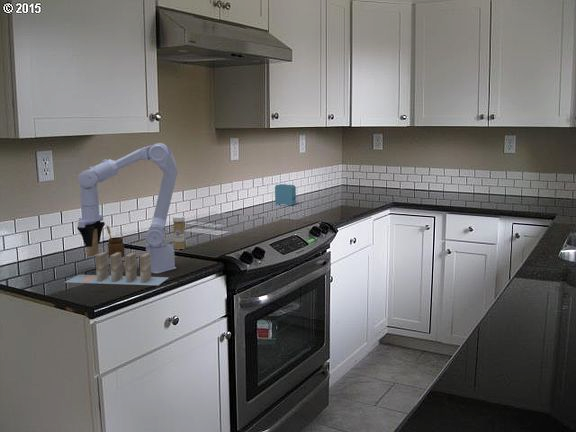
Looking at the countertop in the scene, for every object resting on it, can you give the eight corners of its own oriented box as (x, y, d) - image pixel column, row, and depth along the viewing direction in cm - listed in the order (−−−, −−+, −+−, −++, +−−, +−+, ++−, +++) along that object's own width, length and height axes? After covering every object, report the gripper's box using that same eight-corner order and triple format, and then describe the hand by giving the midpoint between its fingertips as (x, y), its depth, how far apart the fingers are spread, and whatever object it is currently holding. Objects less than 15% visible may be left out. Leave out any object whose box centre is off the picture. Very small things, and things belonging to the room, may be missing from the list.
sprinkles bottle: (173, 250, 255) (172, 217, 253) (174, 248, 259) (173, 215, 257) (185, 250, 256) (184, 216, 253) (185, 247, 260) (184, 215, 258)
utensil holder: (120, 258, 242) (118, 227, 240) (105, 257, 243) (103, 226, 242) (127, 254, 248) (125, 224, 246) (112, 254, 249) (110, 224, 247)
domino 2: (108, 277, 212) (107, 252, 210) (101, 281, 207) (100, 255, 205) (103, 277, 212) (102, 252, 211) (97, 281, 207) (95, 255, 206)
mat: (169, 278, 211) (169, 277, 211) (158, 286, 201) (158, 285, 201) (79, 275, 216) (78, 274, 216) (64, 283, 206) (64, 282, 206)
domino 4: (136, 278, 210) (135, 252, 209) (130, 282, 205) (129, 256, 204) (132, 278, 210) (131, 252, 209) (126, 282, 205) (124, 256, 204)
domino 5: (151, 278, 209) (150, 253, 208) (145, 282, 204) (144, 256, 203) (146, 278, 210) (145, 253, 208) (140, 282, 205) (139, 256, 203)
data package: (296, 205, 379) (295, 185, 377) (292, 206, 375) (291, 185, 373) (279, 203, 385) (278, 184, 383) (275, 204, 381) (274, 184, 380)
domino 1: (98, 253, 221) (97, 228, 219) (91, 256, 216) (90, 231, 215) (94, 253, 221) (92, 228, 220) (87, 256, 216) (85, 231, 215)
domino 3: (122, 277, 211) (121, 252, 210) (116, 281, 206) (114, 255, 205) (118, 277, 211) (116, 252, 210) (111, 281, 206) (110, 255, 205)
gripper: (89, 202, 223) (91, 240, 226) (68, 208, 209) (71, 249, 211) (107, 202, 222) (110, 240, 224) (88, 208, 208) (91, 249, 210)
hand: (92, 244), depth 218 cm, fingers closed on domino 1, 5 cm apart
